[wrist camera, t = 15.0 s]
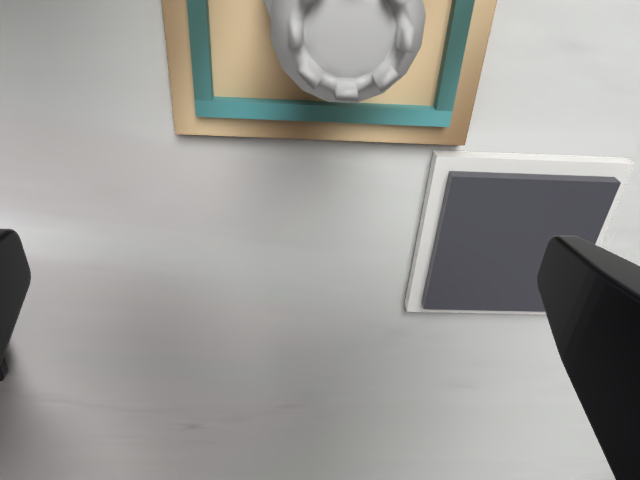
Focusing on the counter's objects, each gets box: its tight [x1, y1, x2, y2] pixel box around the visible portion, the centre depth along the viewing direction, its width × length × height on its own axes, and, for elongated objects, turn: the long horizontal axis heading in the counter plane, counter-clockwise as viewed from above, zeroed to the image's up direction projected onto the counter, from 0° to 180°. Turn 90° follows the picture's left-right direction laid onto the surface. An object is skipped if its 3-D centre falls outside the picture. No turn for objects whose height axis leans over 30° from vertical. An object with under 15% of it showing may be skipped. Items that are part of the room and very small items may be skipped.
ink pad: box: [405, 150, 634, 315], centre depth 23 cm, size 8×8×1 cm
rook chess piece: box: [263, 0, 426, 103], centre depth 14 cm, size 4×4×8 cm
